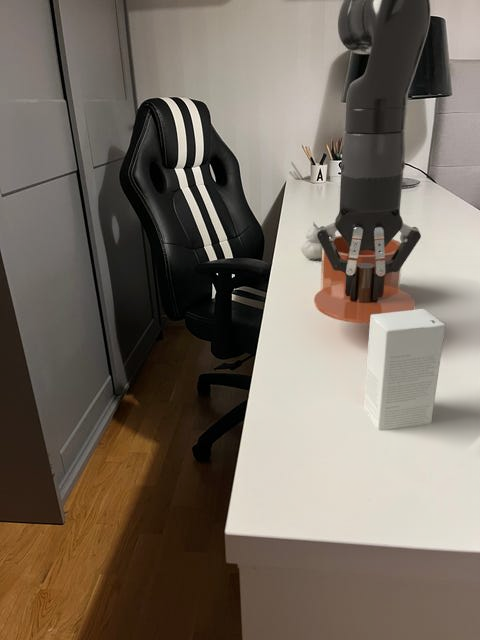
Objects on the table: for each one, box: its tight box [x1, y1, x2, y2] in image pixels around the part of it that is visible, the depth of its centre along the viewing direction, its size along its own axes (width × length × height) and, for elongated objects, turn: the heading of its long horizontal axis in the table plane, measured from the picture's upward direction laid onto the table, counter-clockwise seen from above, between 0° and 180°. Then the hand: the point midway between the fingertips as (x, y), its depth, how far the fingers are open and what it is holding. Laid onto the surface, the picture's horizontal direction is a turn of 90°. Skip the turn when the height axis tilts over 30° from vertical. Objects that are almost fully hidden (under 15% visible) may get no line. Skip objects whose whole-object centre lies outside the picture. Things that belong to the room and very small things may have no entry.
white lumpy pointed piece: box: [300, 221, 322, 260], centre depth 104 cm, size 5×7×8 cm
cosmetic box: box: [363, 308, 446, 431], centre depth 51 cm, size 6×4×12 cm
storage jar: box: [320, 235, 403, 290], centre depth 83 cm, size 13×13×10 cm
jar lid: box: [313, 263, 416, 325], centre depth 69 cm, size 14×14×6 cm
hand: (363, 298), depth 69 cm, fingers closed on jar lid, 2 cm apart
